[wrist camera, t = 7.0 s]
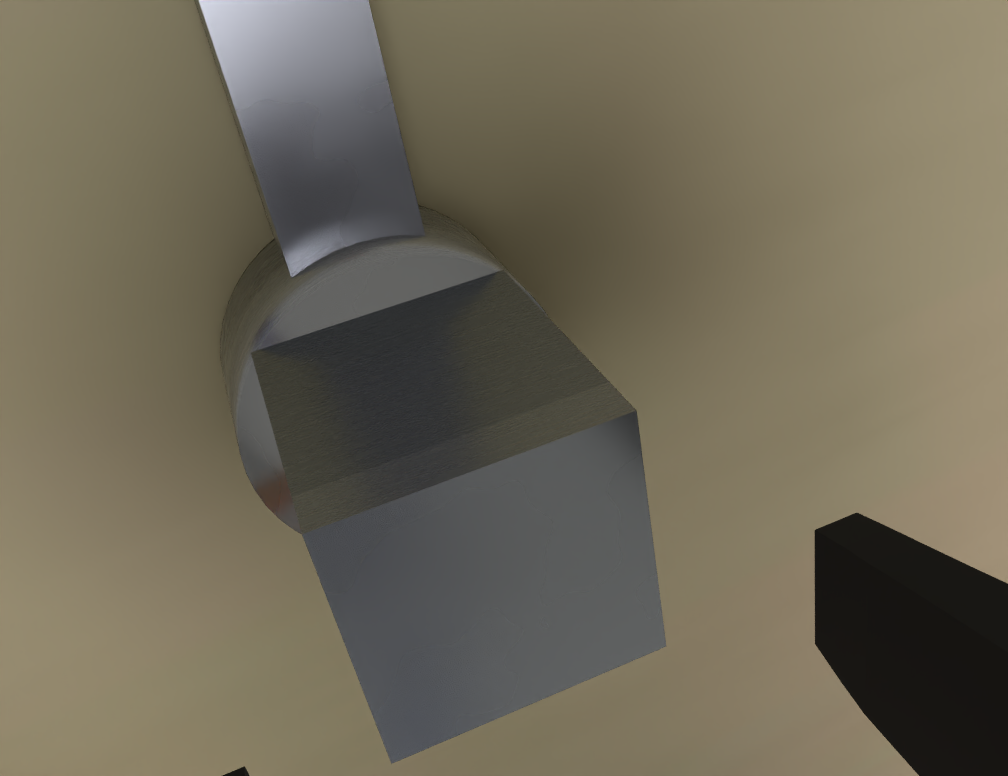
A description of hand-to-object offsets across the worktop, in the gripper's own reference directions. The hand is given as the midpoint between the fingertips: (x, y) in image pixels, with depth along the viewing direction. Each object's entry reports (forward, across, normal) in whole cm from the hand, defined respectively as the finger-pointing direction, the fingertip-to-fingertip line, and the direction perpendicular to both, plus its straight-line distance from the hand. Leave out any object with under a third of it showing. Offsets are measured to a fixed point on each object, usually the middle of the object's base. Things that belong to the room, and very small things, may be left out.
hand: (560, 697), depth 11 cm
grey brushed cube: (+7, 0, 0) cm, 7 cm away
